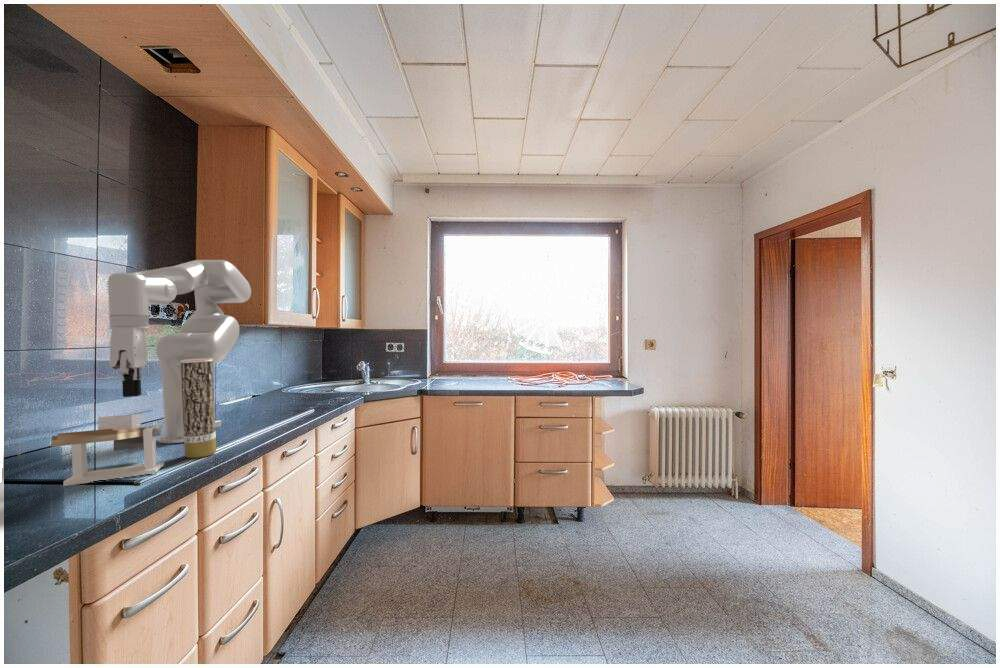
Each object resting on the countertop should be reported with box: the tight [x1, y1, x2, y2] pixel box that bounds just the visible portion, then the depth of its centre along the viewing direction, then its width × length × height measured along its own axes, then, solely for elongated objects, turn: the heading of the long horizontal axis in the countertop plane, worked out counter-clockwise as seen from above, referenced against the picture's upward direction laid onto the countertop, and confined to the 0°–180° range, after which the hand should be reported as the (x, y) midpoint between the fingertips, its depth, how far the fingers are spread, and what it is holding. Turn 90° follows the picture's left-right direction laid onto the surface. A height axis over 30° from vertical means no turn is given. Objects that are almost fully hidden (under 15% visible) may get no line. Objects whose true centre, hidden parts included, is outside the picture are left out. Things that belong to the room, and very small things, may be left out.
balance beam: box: [50, 425, 163, 452], centre depth 98 cm, size 28×10×5 cm, turn 23°
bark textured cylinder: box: [181, 358, 217, 459], centre depth 112 cm, size 7×7×25 cm
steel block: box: [97, 413, 142, 430], centre depth 101 cm, size 6×6×4 cm
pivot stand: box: [63, 426, 165, 487], centre depth 98 cm, size 6×17×10 cm, turn 114°
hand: (132, 395), depth 108 cm, fingers closed
